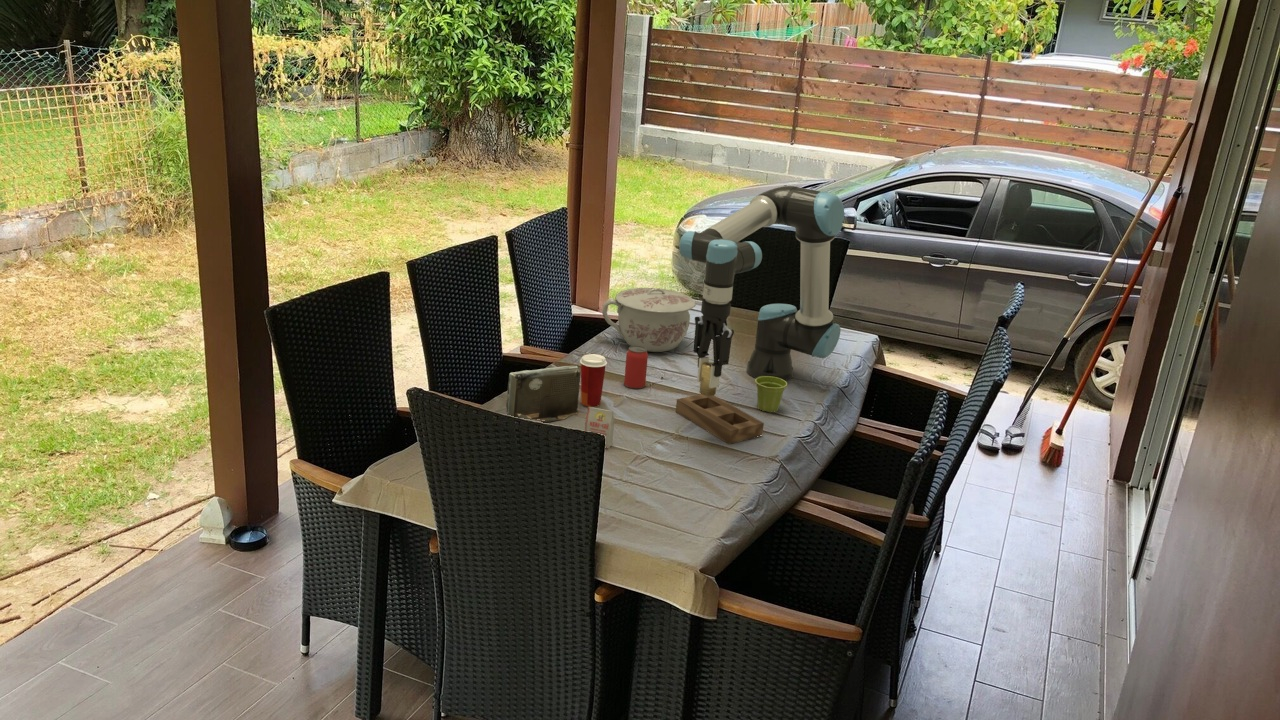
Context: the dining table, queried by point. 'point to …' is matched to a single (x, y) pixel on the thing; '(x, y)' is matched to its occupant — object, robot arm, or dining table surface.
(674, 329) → the chamber pot
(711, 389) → the brass bushing
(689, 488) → the dining table surface
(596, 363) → the paper cup
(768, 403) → the plant pot
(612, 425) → the tea bag
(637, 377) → the beer can
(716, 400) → the frame
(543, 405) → the radio
